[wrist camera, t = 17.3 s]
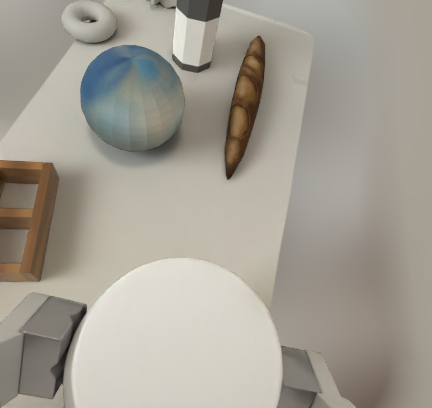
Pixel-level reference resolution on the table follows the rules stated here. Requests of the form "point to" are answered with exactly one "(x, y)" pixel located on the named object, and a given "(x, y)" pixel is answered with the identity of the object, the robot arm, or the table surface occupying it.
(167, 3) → the bunny figurine
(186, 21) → the wine bottle
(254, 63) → the bread
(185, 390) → the pill bottle
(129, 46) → the decorative ball
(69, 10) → the donut
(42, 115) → the table surface
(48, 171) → the rack
